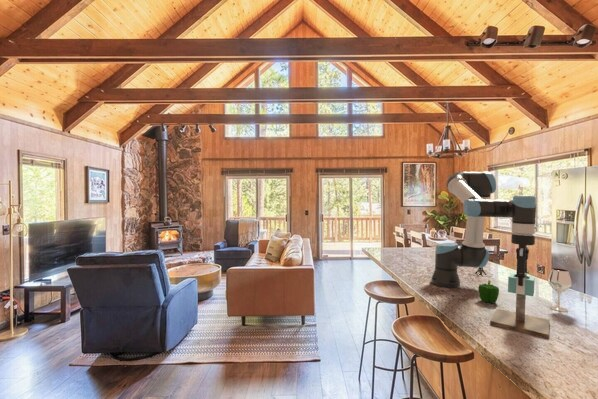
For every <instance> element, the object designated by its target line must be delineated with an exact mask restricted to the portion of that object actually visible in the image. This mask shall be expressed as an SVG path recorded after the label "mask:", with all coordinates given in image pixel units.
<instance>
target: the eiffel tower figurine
mask: <svg viewBox="0 0 598 399" xmlns="http://www.w3.org/2000/svg"><path fill="white" fill-rule="evenodd" d="M477 273H478V274H479V273H480V274H479V275H481V276H480V277H483V276H482V274H485V275H487V273H486V271H485V270H484V267H482V268H478V269H477V270H476V271H475V272H474V273H472V274H471V273H468V276H473V275H474V276H476V275H478V274H477ZM493 276H494V274H492V273H491V275H488V276H486V277H487V278H492V277H493ZM486 277H485V278H486Z"/></svg>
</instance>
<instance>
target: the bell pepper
mask: <svg viewBox="0 0 598 399" xmlns="http://www.w3.org/2000/svg"><path fill="white" fill-rule="evenodd" d="M499 293H500V289H499V287H498V286H497V285H496V286H495V285H494V284H491V280H490V279H489V280H488V281H487V283H482V284H478V295H479V299H480V300H481V301H482V302H484V303H489V304H495V303H497V300H498V298H499Z"/></svg>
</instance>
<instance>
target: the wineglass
mask: <svg viewBox="0 0 598 399" xmlns="http://www.w3.org/2000/svg"><path fill="white" fill-rule="evenodd" d="M547 282H548V284H549V286H550V287H551V288H552V289H554V291H555V292H556V293H557V306H556V305H552V306H549V309H551V310H554V311H557V312H564V313H565V312H569V309H567V308H565V307H561V294H562V293H564V292H565V291H567V290H569V289H570V288H571V286H572V284H573V283H572V279H571V275H570V272H569V270H567V269H564V268H563V269H562V268H555V267H552V268H551V271H550V273H549V275H548V280H547Z"/></svg>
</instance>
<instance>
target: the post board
mask: <svg viewBox="0 0 598 399" xmlns="http://www.w3.org/2000/svg"><path fill="white" fill-rule="evenodd" d="M515 296H516V297H515V312H514V311H510V310H506V309H501V308H496V309H495V312H494V313H493V315H492V317H491V319H490V321H489V325H491V326H494V327H499V328H503V329H507V330H512V331H515V332H519V333H523V334H527V335H530V336H531V335H532V336H535V337H540V338H543V339H548V340H549V337H550V335H549V334H550V319H548V318H543V317H539V316H534V315H529V314H526V296H527V295H522V294H516V293H515Z"/></svg>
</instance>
